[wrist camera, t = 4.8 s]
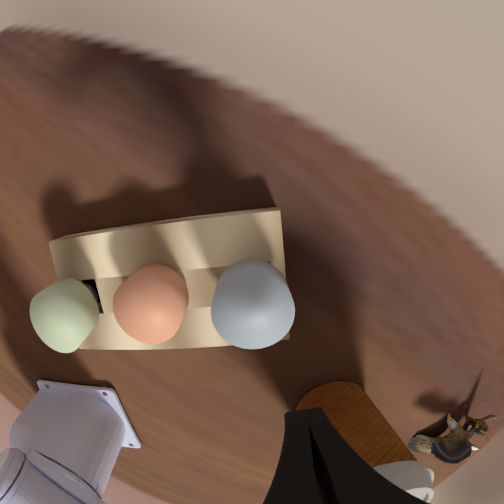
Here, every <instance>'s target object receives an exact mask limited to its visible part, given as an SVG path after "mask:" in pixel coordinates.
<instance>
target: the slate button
mask: <svg viewBox="0 0 504 504" xmlns="http://www.w3.org/2000/svg"><path fill="white" fill-rule="evenodd" d="M294 317H295V305H294V301H293V298H292V296H291V293H290V290H289V288H288V285H287V282H286V280H285V278H284V276H283V275H282V273H281V272H280V271H279V270H278V269H277V268H276V267H275V266H273V265H272V264H270V263H268V262H266V261H263V260H258V259H247V260H242V261H238V262H236V263H234V264H232V265H231V266H229V267H228V268H227V269H226V270H225V271H224V272H223V273H222V275H221V276H220V278H219V280H218V282H217V285H216V289H215V293H214V297H213V301H212V305H211V319H212V323H213V325H214V327H215V329H216V331H217V332H218V334H219V335H220V336H221V337H222V338H223V339H224V340H226V341H227V342H229V343H230V344H232V345H234V346H237V347H240V348H244V349H261V348H265V347H268V346H271V345H273V344H275V343H277V342H278V341H279V340H281V339H282V338H283V337H284V336H285V335H286V334H287V333H288V331H289V330H290V328H291V326H292V324H293V321H294Z"/></svg>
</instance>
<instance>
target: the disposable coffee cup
mask: <svg viewBox="0 0 504 504" xmlns="http://www.w3.org/2000/svg"><path fill="white" fill-rule="evenodd" d="M317 407H321V408H322V409H323V410H324V412H325V414H326V415H327V417H328V418H329V420H330V421H331V423H332V424H333V425H334V427H335V428H336V429H337V431H338V432H339V433H340V435H341V436H342V437H343V438H344V439H345V440H346V442H347V443H348V444H349V445H350V446H351V447H352V448H353V449H354V450H355V452H356V453H357V454H358V455H359V456H360V457H361V458H362V459H364V460H365V461H366V462H367V463H368V464H369V465H370V466H371V467H372V468H373V469H375V470H376V471H377V472H378V473H380V474H381V475H382V476H383V477H385V478H386V479H388V480H389V481H390V482H392V483H393V484H395V485H396V486H398V487H400V488H401V489H403V490H405V491H406V492H408V493H410V494H411V495H413V496H415V497H417V498H419V499H421V500H423V501H425V502H427V503H429V502H430V500H431V499H432V497H433V496H434V489H433V484H432V482H433V480H434V473H433V471H432V470H431V469H430V468H429V467H427V466H424V465H423V463H420V462H418V461H417V460H416V459H415V457H414V456H413V455H412V453H411V452H410V450H409V449H408V448H407V446H406V445H405V444H404V443H403V441H402V440H401V438H400V437H398V434H397V433H396V432H395V430H394V429H393V428H392V427H391V425H390V424H389V423H388V422H387V420H386V419H385V418H384V417H383V415H382V414H381V413H380V411H379V410H378V409H377V408H376V406H375V405H374V404H373V402H372V401H371V400H370V398H369V397H368V396H367V394H366V393H365V392H364V390H363V389H362V388H361V387H360V386H359V385H357V384H356V383H353V382H349V381H335V382H330V383H326V384H324V385H321V386H318V387H316V388H314V389H313V390H311V391H310V392H308V393H307V394H306V395H305V396H304V397H303V398H302V399H301V400H300V402H299V403H298V405H297V407H296V411H298V410H305V409H311V408H317Z"/></svg>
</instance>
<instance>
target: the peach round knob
mask: <svg viewBox="0 0 504 504" xmlns="http://www.w3.org/2000/svg"><path fill="white" fill-rule="evenodd" d="M188 304H189V292H188V288H187V286H186V284H185V282H184V280H183V279H182V277H181V276H180V275H179V274H178V273H177V272H176V271H174V270H173V269H171V268H169V267H167V266H165V265H161V264H148V265H144V266H142V267H140V268H139V269H137V270H136V271H135V272H134V273H133V274H132V275H131V276H130V277H129V278H127V279H126V280H125V281H124V282H123V283H122V284H121V285H120V286H119V287H118V288H117V290H116V292H115V294H114V297H113V312H114V316H115V319H116V321H117V323H118V324H119V326H120V327H121V328H122V330H123V331H124V332H125V333H127V334H128V335H129V336H130V337H132V338H134V339H135V340H137V341H140V342H143V343H148V344H158V343H162V342H165V341H167V340H169V339H170V338H172V337H173V336H174V335H175V333H176V332H177V331H178V328H179V326H180V324H181V321H182V319H183V317H184V314H185V312H186V310H187V307H188Z"/></svg>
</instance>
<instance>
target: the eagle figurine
mask: <svg viewBox="0 0 504 504" xmlns="http://www.w3.org/2000/svg"><path fill="white" fill-rule="evenodd" d="M447 417H448V419H447V424H448V426H449V428H450V433H449V434H448V435H446V436H444V437H428V436H424V435H417V436H416V437H413V438H412V440H409V441H408V442H409V443H408V444H407V445H408V448H412V449H411V450H413V451H416V452H419V453H432V454H434V455H435V458H438V459H439V460H442V461H443V462H446V463H450V464H454V463H455V464H457V463H459V462H461V461H463V460H464V459H465V458H467V457H469V456H470V454H471V450H479V448H478V447H476V446H474V445H472V444H471V443H470V442H469V439H470V437H471V436H472V435H473V434H474V433H475V432H476V435H477V436H484V435H485V434H482V433H481V432H480V430H482V431H484V432H487V430H488V426H487V424H485V421H488V420H490V419H495V418H496V417H497V416H495V415H489V416H486V417H484V418H482V419H473V418H472V417H469V416H466V417H465V419H466V422H465V424H464V426H463V427H461V426H460V425H459V424H458V423H457V422H456V421H455V420H454V419H453V418H452V417H451V416H450V413H449V414H448V415H447ZM468 425H472V428H471V429H470V430H468V431H466V430H467V428H468Z"/></svg>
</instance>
